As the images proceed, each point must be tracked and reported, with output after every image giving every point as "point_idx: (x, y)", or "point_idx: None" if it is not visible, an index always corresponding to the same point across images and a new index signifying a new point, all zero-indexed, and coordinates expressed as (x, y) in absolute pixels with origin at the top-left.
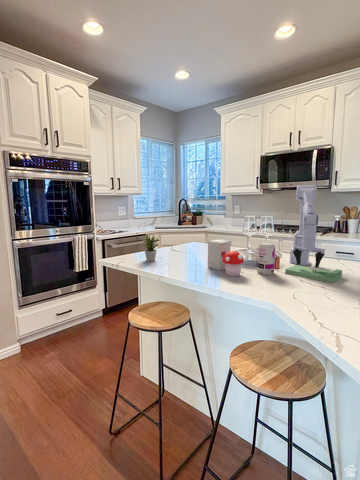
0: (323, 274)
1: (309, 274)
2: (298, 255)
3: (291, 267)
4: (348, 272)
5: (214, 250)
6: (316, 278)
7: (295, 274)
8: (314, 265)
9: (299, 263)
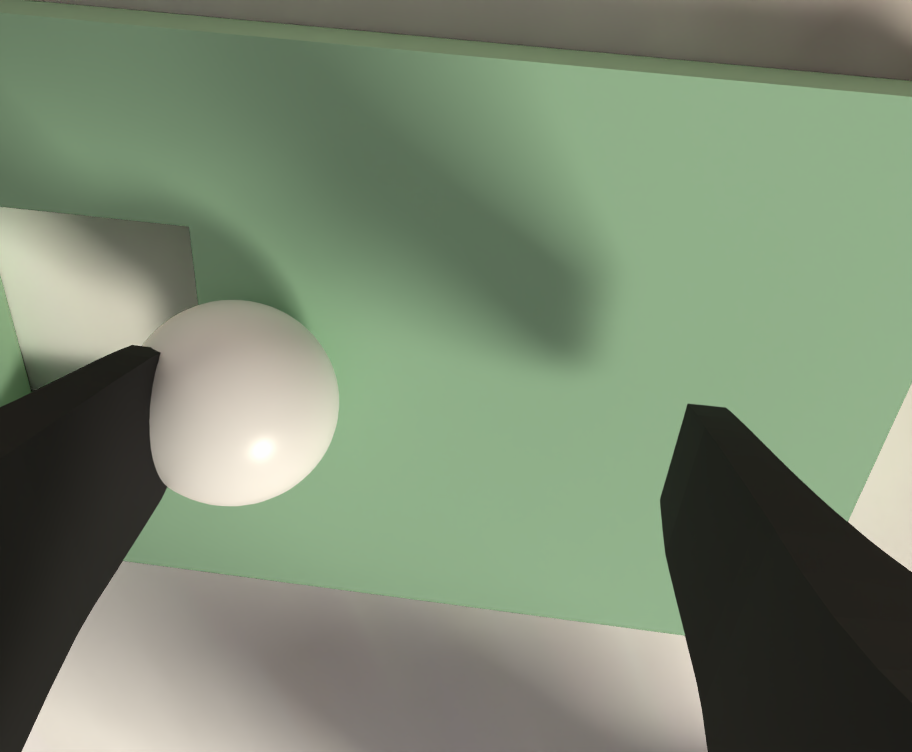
0: None
1: (252, 35)
2: (797, 675)
3: (868, 404)
4: (55, 741)
5: None
6: (93, 11)
7: (662, 60)
8: (186, 405)
9: (678, 485)
